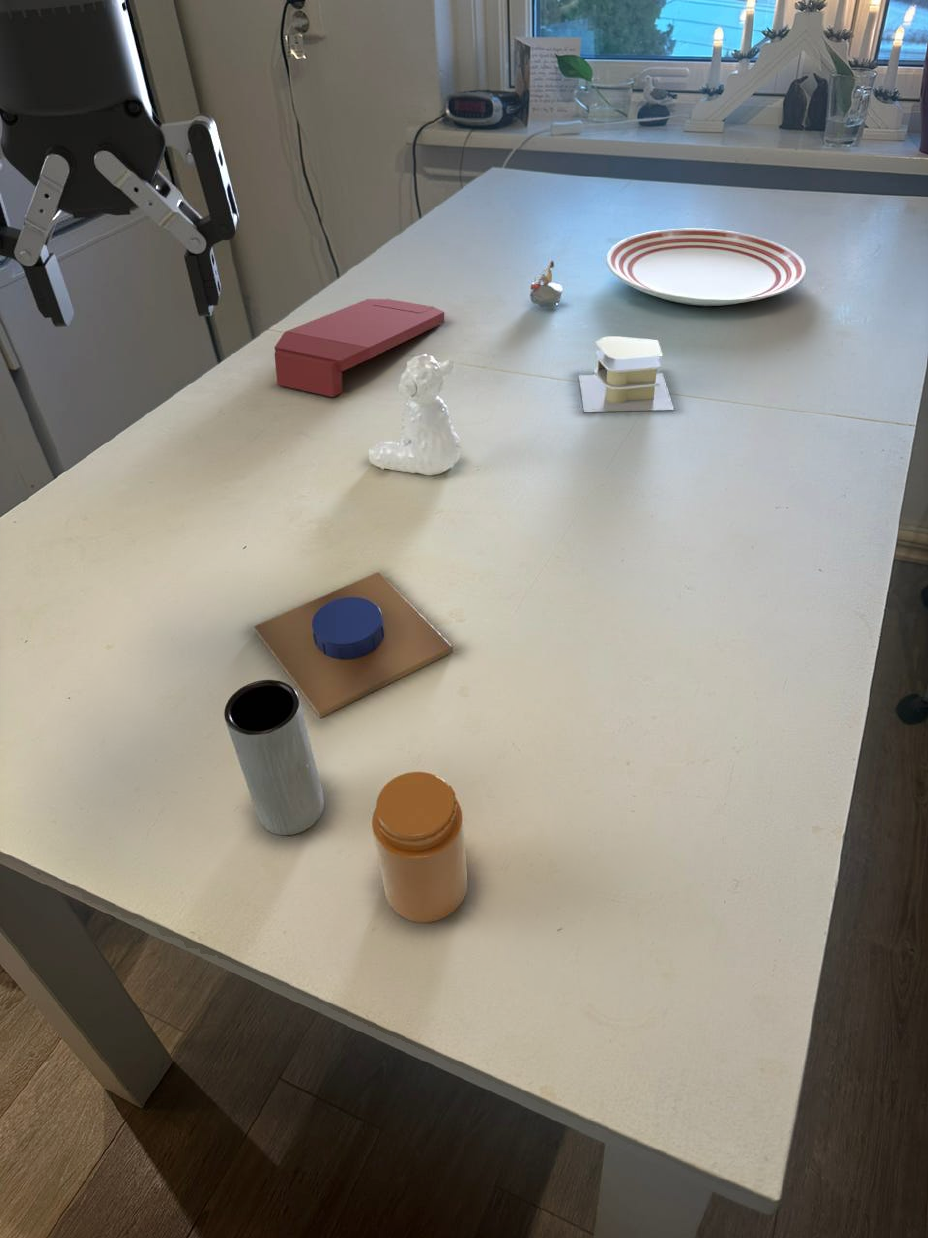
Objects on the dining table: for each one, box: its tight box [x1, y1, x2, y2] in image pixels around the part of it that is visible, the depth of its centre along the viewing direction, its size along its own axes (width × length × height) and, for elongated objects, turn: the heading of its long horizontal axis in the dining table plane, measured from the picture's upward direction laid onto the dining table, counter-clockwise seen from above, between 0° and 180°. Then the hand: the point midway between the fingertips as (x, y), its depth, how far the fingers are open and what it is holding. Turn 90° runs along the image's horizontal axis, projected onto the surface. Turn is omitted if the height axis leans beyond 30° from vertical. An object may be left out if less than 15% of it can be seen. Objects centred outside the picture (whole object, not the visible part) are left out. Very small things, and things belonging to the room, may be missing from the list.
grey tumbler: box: [223, 679, 325, 836], centre depth 56 cm, size 4×4×10 cm
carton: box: [273, 298, 445, 398], centre depth 112 cm, size 12×5×25 cm
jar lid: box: [312, 597, 384, 659], centre depth 71 cm, size 6×6×2 cm
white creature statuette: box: [368, 353, 462, 476], centre depth 88 cm, size 10×9×12 cm
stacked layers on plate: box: [578, 335, 675, 413], centre depth 99 cm, size 10×9×6 cm
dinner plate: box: [605, 228, 807, 307], centre depth 123 cm, size 27×27×3 cm
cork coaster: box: [253, 571, 454, 718], centre depth 71 cm, size 12×12×1 cm
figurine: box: [529, 259, 563, 309], centre depth 119 cm, size 5×4×6 cm
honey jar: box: [371, 771, 468, 923], centre depth 52 cm, size 5×5×8 cm
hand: (137, 316), depth 53 cm, fingers open, 8 cm apart
